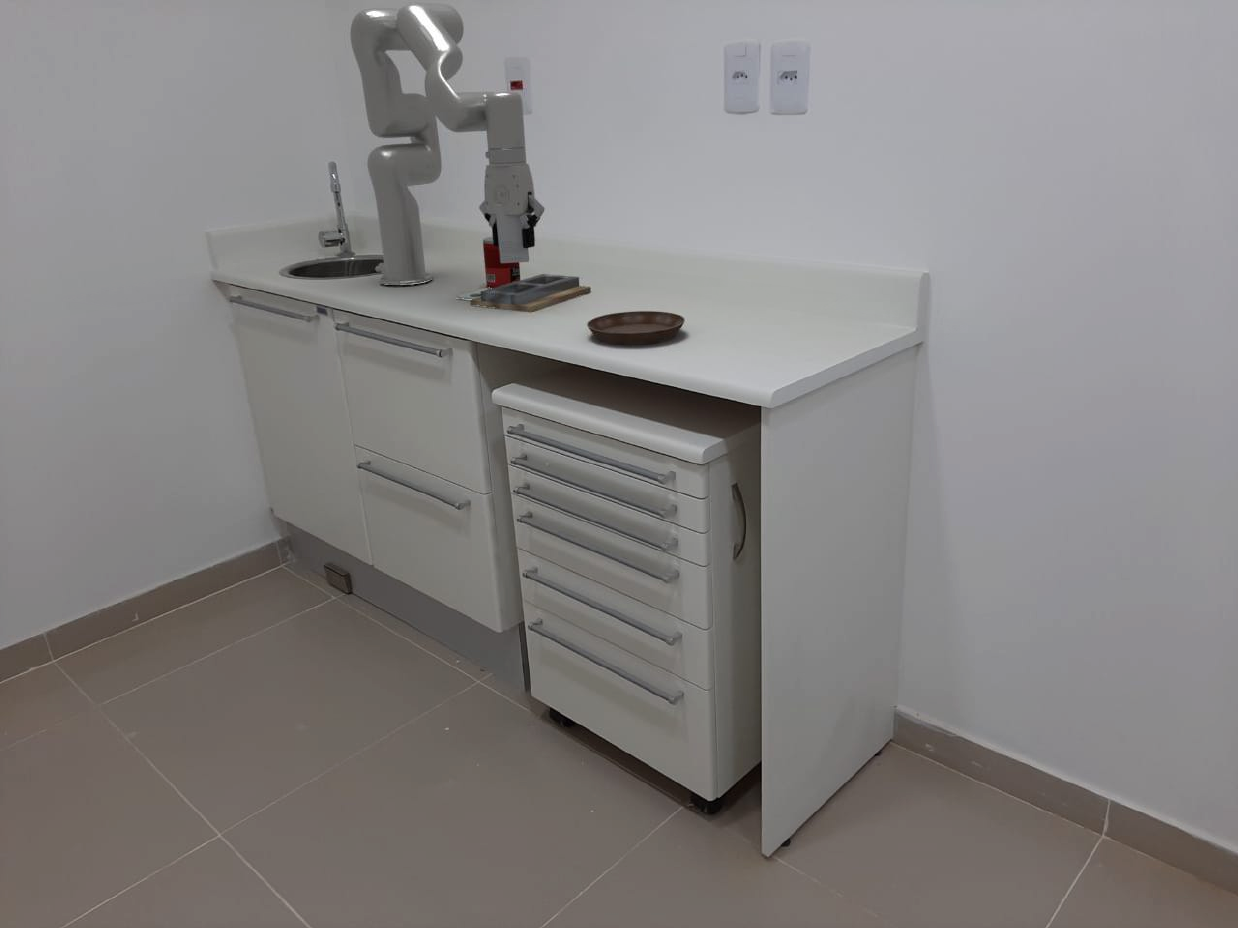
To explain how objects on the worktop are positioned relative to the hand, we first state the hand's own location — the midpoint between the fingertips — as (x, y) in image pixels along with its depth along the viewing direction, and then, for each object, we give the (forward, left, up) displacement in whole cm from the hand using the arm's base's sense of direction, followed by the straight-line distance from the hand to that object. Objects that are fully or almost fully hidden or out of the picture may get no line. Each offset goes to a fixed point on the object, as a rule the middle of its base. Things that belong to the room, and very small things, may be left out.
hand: (514, 246), depth 201 cm
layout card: (-12, +3, -12) cm, 17 cm away
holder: (0, +5, -12) cm, 13 cm away
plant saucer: (+38, -14, -13) cm, 42 cm away
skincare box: (0, 0, -3) cm, 3 cm away
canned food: (-15, +14, -12) cm, 24 cm away
